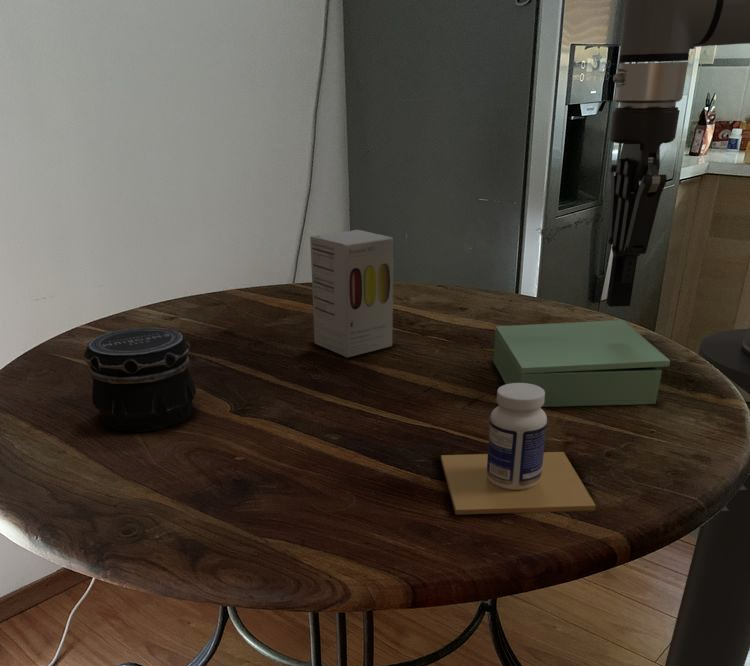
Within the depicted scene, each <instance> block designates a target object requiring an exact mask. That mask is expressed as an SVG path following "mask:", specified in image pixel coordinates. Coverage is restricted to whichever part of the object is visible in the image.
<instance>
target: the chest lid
mask: <svg viewBox="0 0 750 666" xmlns="http://www.w3.org/2000/svg"><path fill="white" fill-rule="evenodd" d="M495 332H496V333H497V335H498V336H499V338H500V339H501V341H502V343H503V344H504V346H505V348H506V349H507V351H508V352H509V354H510V356H511V357H512V359H513V361H514V362H515V364H516V365H517V367H518V369H519V370H520V372H521V373H522V374H525V373H545V372H565V371H585V370H605V369H624V368H644V367H658V368H662V367H670V364H671V360H670V359H669V358H668V357H667V356H666V355H664V353H662V352H661V351H660V350H659V349H657V347H655V346H654V345H653V344H651V342H649V340H647V339H646V338H645V337H644V336H643V335H641V334H640V333H639V332H638V331H637V330H636V329H634V328H633V327H632V326H631V325H630V324H628V322H627V321H625V320H624V319H618V320H617V319H616V320H615V319H614V320H598V321H597V320H596V321H595V320H594V321H575V322H557V323H555V322H554V323H536V324H535V323H534V324H517V325H516V324H514V325H496V326H495Z"/></svg>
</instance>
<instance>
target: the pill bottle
mask: <svg viewBox="0 0 750 666" xmlns="http://www.w3.org/2000/svg"><path fill="white" fill-rule="evenodd" d="M544 400H545V391H544V390H543V389H542V388H541V387H539V386H536V385H533V384H528V383H511V384H503V385H501V386H499V387H498V388H497V391H496V403H497V405H498V406H496V407H495V408H494V409H492V411H491V413H490V415H489V416H490V417H489V430H488V446H487V454H488V459H487V477H488V479H489V480H490V481H491V482H492V483H493V484H494V485H496V486H498V487H501V488H505V489H511V490H522V489H528V488H531V487H533V486H535V485H536V484H537V483H538V482H539V481H540V479H541V474H542V464H543V455H544V452H545V446H546V445H545V444H546V435H547V428H548V427H547V426H548V417H547V414H546V412H545V411H544V410H543V409H542V407H541V406H543V405H544Z"/></svg>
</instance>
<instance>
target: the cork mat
mask: <svg viewBox="0 0 750 666" xmlns="http://www.w3.org/2000/svg"><path fill="white" fill-rule="evenodd" d="M487 459H488V453H475V454H473V453H472V454H471V453H470V454H441V455H440V463H441V466H442V470H443V473H444V477H445V482H446V485H447V489H448V492H449V495H450V500H451V503H452V507H453V510H454V514H455V515H456V516H461V515H464V516H465V515H494V514H496V515H497V514H523V513H524V514H525V513H527V514H529V513H556V512H557V513H559V512H585V511H586V512H589V511H590V512H591V511H593V512H594V511H596V506H597V505H596V503H595V502H594V500H593V498H592V497H591V494H590V493H589V491H588V489H587V488H586V487H585V485H584V483H583V482H582V480H581V478H580V477H579V474H578V473H577V472H576V470H575V468H574V467H573V465H572V464H571V462H570V460H569V458H568V457H567V455H566V453H565V451H544V455H543V464H542V474H541V479H540V481H539V482H538V483H537V484H536V485H535V486H533V487H531V488H528V489H522V490H511V489H505V488H501V487H498V486H496V485H494V484H493V483H492V482H491V481H490V480H489V479H488V477H487Z"/></svg>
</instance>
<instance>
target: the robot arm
mask: <svg viewBox="0 0 750 666" xmlns="http://www.w3.org/2000/svg"><path fill="white" fill-rule="evenodd" d="M624 8H625V10H624V17H623V28H622V37H621V47H620V56H619V62H618V70H617V71H618V72H617V73H615V74H614V75H613V76H612V77H613V78H612V81H613V83H616V87H615V93H614V94H615V95H614V101H615V102H616V103H618V104H619V106H618V107H615V108H614V110H613V111H612V114H611V116H612V117H611V124H610V130H609V131H610V132H609V140H610V141H611V142H612V143H615V144H622V146H621V150H620V153H619V158H618V160H617V163H616V164H615V163H614V164H610V165H611V166H610V168H609V172H610V173H609V174H610V197H609V198H610V199H609V217H608V235H607V236H608V237H607V244H608V245H610V246H611V251H612V258H611V267H610V274H609V283H608V287H607V288H608V290H607V297H606V302H605V303H606V305H607V306H608V307H610V308H611V307H613V308H614V307H631V301H632V295H633V289H634V282H635V277H636V270H637V269H636V268H637V264H638V263H637V261H638V257H640V255H645V254H646V253H647V250H648V246H649V242H650V238H651V235H652V231H653V227H654V223H655V220H656V219H655V218H656V215H657V211H658V207H659V203H660V199H661V196H662V194H663V191H664V188H665V186H666V184H667V182H668V181H667V179H668V176H667V174H659V173H660V167H661V153H660V152H661V145H662V144H668V143H672V142H673V141H674V140H675V139H676V135H677V129H678V124H679V118H680V112H681V111H680V110H679V107H678V106H677V102H680V101H682V99H683V96H684V91H685V90H684V89H685V83H686V80H687V79H686V77H687V72H688V65H689V58H690V50H692V49H695V48H698V47H710V46H711V47H712V46H713V47H714V46H729V45H730V46H731V45H745V44H746V45H747V44H750V0H625V7H624ZM748 329H749V330H748V332H747V333H746V335H745V337H744V339H743V343H742V347H741V350H742V352H743V353H744V354H745V355H747V356H748V357H750V328H748Z"/></svg>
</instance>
